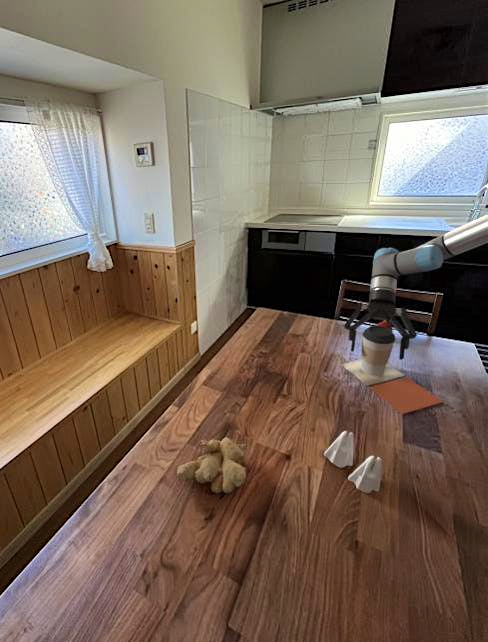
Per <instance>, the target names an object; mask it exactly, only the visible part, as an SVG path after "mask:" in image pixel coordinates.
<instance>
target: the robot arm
mask: <svg viewBox="0 0 488 642" xmlns="http://www.w3.org/2000/svg"><path fill="white" fill-rule="evenodd" d="M485 244H488V214H487V215H484V216H482V217H480V218H477V219H476V220H473V221H471V222H468V223H466V224H465V225H462V226H460V227H457V228H456V229H454V230H452V231H449V232H447V233H445V234H443V235H440V236H438V237H436V238H433V239H431V240H429V241H427V242H425V243H424V244H421V245H419V246H417V247H415V248H412V249H408V250H404V251H399V250H398V249H396V248H394V247H388V248H387V247H382V248H379V249H378V250H376V252H375V253H374V256H373V261H372V272H371V280H370V289H369V291H370V292H369V297H368V303H367V304H364V303H363V302H358V304H357V306H356V309H355V310H354V311H353V313H352V314H351V315H350V317H349V318H348V319H347V321H346V322H345V323H344V325H343V328H344V330H347V331H348V332H349V333H348V341H351V347H350V352H355V345H356V338H357V329H359V327H362V325H364V324H365V323H366V322H368V321H369V320H370V319H374V320H380V321H385V320H386V321H387V322H388V323H389V324H390V325H391V326H393V328H395V330H396V331H397V332H398V333H399V335H400V336H401V338H400V345H399V358H398V360H400V361H402V360H403V359H404V358H405V350H408V349H409V347H410V340H414V339H416V337H417V336H418V334H417V332H416V330H415V328H414V326H413V324H412V322H411V320H410V318H409V316H408V314H407V307H402V308H397V307H396V297H397V294H396V293H397V286H398V285H397V284H398V277H399V276H405V275H410V274H417V273H423V272H430V271H434V270H437V269H440V268H441V267H442V266H443V262H444V261H445V260H448V259H450V258H452V257H455V256H457V255H460V254H462V253H464V252H468V251H470V250H472V249H475V248H478V247H480V246H483V245H485ZM365 309H366V311H367V313H366V314H365V315H364V316H362V317H361V318H360V319H359V320H357V321H356V322H355V323H354V324H352V323H353V322H354V321H355V320H356V319H357V317H358V316H359V314H360V313H361V312H363V311H364V310H365ZM396 313H397V314H398V316H400V319H401V321H402V323H403V325H404V326H403V325H402V324H401V323H400V321H399V320H398V319H397V318H396V316H395V314H396ZM404 327H405V328H404Z"/></svg>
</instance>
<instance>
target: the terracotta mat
mask: <svg viewBox="0 0 488 642" xmlns="http://www.w3.org/2000/svg"><path fill="white" fill-rule="evenodd" d="M369 388H370V390H372V391H373V392H374V393H375V394H376V395H378V396H379V397H380V398H382V399H383V400H384V401H385V402H386V403H388V404H389V405H390V406H391V407H392V408H394V409H395V410H397V412H399V413H400V414H401V415H407V414H409V413H413V412H416V411H421V410H423V409H427V408H430V407H435V406H438V405H441V404H444V401H443V400H442V399H440V398H439V397H437V396H436V395H434V394H432V393H431V392H429V391H428V390H427V389H425V388H424V387H422V386H421V385H419V384H418V383H417V382H415V381H413V380H412V379H411V378H409V377H403V378H399V379H395V380H391V381H387V382H384V383H380V384H376V385H372V386H369Z"/></svg>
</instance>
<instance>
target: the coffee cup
mask: <svg viewBox="0 0 488 642" xmlns="http://www.w3.org/2000/svg"><path fill="white" fill-rule="evenodd" d="M395 342H396V335H395V334H394V332H392V330H391V329H389V328H386V327H383V326H377V325H370V326H369V327H367V328H365V329H364V331H362V340H361V354H360V356H361V358H360V360H361V370H362V371H363V372H365V373H367V374H369V375H373V376H380V375H382V374H383V373H384V370H385V367H386V364H388V362H389V361H390V360H389V359H390V356H391V354H392V351H393V347H394V344H395Z"/></svg>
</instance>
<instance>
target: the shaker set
mask: <svg viewBox="0 0 488 642" xmlns="http://www.w3.org/2000/svg"><path fill="white" fill-rule="evenodd" d="M354 448H355V436H354V433H353V432H352V431H350V432H349V433H348V431H347V430H344V431H342V432H341V433H340V435H338V436H337V438H336V439H335V440H334V441H332V443H331V444H330V446H328V448H327V449H326V450H325V451H324V453H323V455H324V457H325V458H326V459H328V460H329V461H330V462H331V464H332V465H335V466H336V467H337V468H340V469H342V468H345V467H347V466H348V467H352V466H354V452H355V449H354ZM382 467H383V465H382V458H381V457H379V456H377V458H376V459H375V455H370V456H368V457H367V458H366V459H365V460H364V461H363V462H362V463H361V464H360V465H359V466H358V467H357V468H355V470H353V472H352V473H350V474H349V475H348V477H347V480H348V481H349V482H352V483H354V485H355V487H356V489H357V490H359V491H362V493H366V494H370V493H371V492H372V491H374V492H377V491H378V492H380V487H381V478H382Z"/></svg>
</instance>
